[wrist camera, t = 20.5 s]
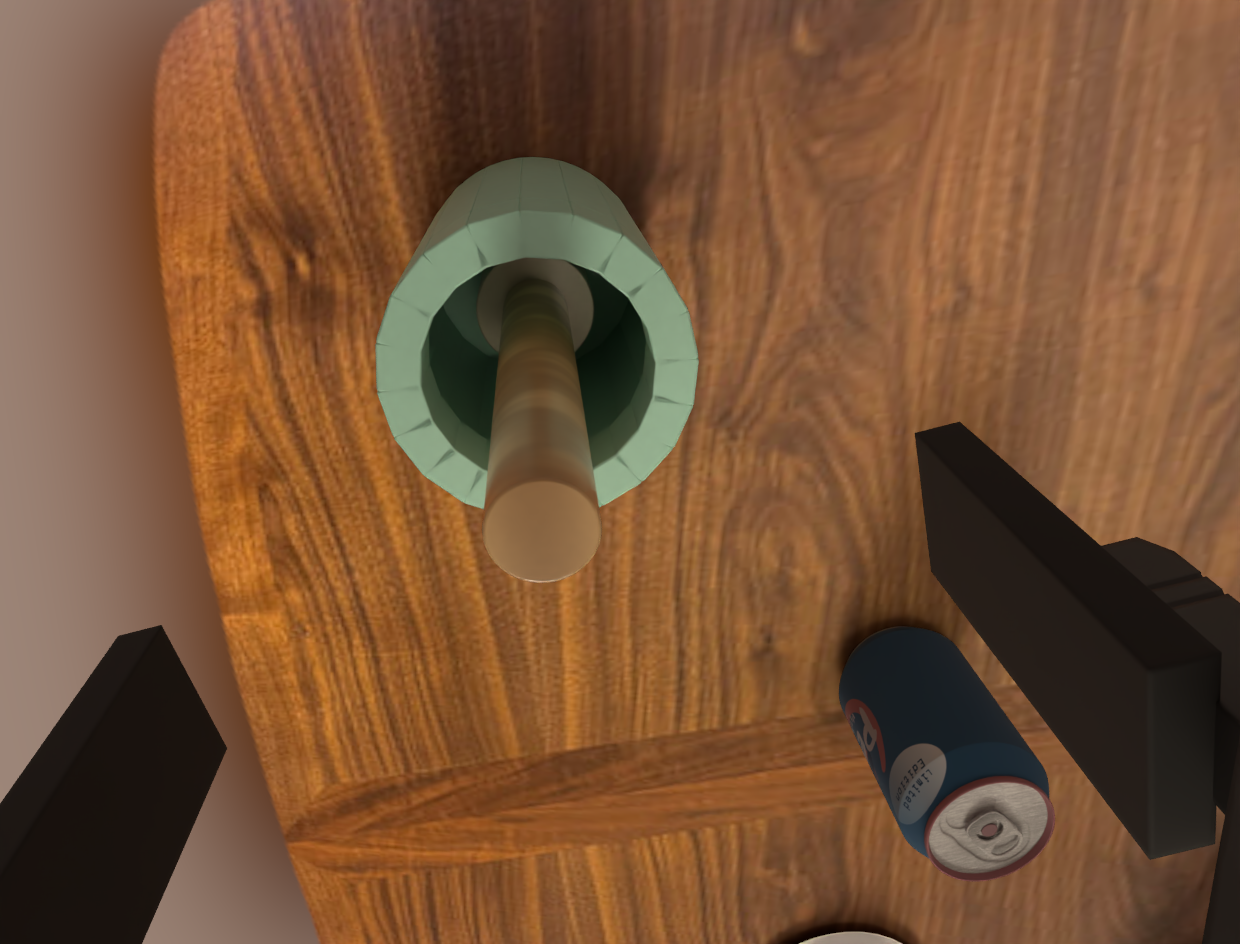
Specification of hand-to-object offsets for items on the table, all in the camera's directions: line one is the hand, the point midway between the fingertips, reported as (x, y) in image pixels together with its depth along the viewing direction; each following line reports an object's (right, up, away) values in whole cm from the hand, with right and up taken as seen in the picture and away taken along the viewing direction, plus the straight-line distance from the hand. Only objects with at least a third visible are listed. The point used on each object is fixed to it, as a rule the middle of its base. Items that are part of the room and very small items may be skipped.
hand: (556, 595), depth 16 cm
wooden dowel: (-3, +11, +25) cm, 27 cm away
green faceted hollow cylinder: (-3, +11, +25) cm, 28 cm away
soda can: (+16, -9, +36) cm, 40 cm away
